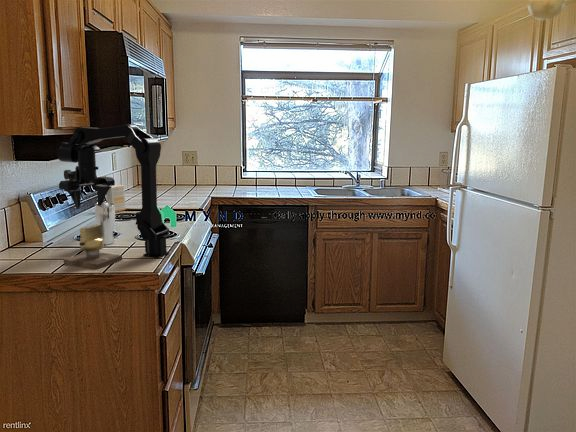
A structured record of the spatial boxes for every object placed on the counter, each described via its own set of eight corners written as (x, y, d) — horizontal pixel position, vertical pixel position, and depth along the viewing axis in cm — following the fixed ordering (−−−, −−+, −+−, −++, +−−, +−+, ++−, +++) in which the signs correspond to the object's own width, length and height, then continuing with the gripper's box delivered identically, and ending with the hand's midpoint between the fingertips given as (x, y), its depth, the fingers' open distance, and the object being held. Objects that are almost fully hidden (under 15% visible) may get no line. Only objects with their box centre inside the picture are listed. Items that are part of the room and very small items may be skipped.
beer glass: (118, 239, 179) (117, 202, 174) (111, 246, 172) (111, 207, 167) (99, 238, 178) (98, 200, 174) (92, 244, 172) (91, 206, 167)
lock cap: (92, 244, 154) (90, 223, 153) (108, 246, 152) (107, 225, 150) (72, 250, 147) (70, 228, 146) (89, 252, 144) (87, 230, 143)
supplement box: (119, 209, 246) (118, 184, 243) (126, 210, 244) (124, 185, 241) (106, 211, 239) (105, 186, 237) (113, 212, 237) (111, 187, 234)
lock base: (122, 259, 153) (121, 246, 152) (97, 269, 143) (96, 255, 142) (89, 255, 158) (88, 242, 158) (63, 263, 148) (62, 250, 147)
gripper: (95, 160, 174) (97, 201, 177) (47, 163, 158) (50, 207, 161) (114, 162, 168) (116, 204, 171) (67, 166, 152) (70, 212, 156)
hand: (89, 207), depth 165 cm, fingers open, 8 cm apart
